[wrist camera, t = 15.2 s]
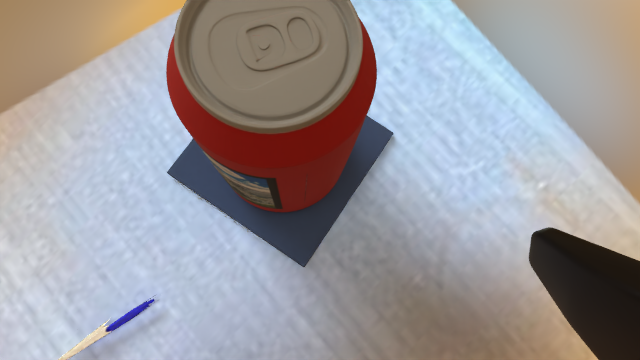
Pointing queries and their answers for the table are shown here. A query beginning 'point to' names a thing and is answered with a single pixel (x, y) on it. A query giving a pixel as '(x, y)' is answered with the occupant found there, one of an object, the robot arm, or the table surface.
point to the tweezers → (105, 330)
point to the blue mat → (284, 227)
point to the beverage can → (273, 93)
